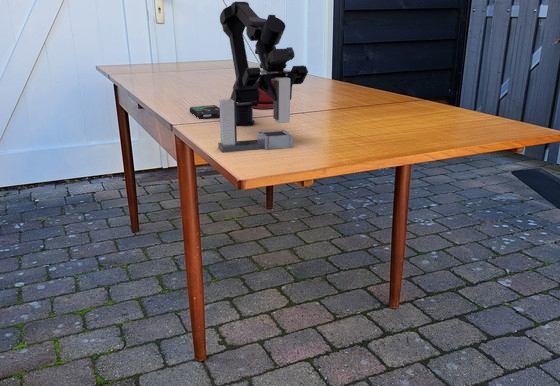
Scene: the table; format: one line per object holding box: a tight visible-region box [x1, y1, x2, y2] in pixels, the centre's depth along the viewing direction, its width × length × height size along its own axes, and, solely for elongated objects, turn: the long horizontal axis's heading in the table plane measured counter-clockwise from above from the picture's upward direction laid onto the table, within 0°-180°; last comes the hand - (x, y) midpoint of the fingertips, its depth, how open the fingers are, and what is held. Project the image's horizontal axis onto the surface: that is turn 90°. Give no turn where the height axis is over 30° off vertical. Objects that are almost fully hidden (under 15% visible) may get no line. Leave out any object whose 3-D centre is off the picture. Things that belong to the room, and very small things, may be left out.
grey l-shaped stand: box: [217, 98, 294, 153], centre depth 153 cm, size 7×20×14 cm, turn 110°
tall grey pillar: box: [272, 77, 291, 124], centre depth 154 cm, size 3×4×12 cm
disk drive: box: [189, 104, 220, 120], centre depth 200 cm, size 10×3×15 cm
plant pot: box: [253, 80, 274, 110], centre depth 213 cm, size 13×13×12 cm
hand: (283, 99), depth 152 cm, fingers closed on tall grey pillar, 4 cm apart
